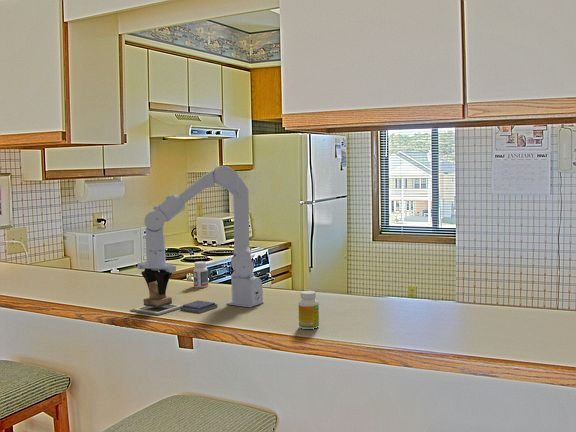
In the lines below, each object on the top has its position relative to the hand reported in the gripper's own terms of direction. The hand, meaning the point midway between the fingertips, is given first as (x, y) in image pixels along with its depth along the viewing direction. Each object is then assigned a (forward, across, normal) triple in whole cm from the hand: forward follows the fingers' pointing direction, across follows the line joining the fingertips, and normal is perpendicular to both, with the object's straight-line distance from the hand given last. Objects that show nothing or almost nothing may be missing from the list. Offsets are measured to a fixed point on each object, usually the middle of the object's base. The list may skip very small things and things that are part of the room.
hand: (157, 293), depth 195 cm
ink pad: (+5, +11, +6) cm, 14 cm away
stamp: (+3, 0, 0) cm, 3 cm away
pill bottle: (+5, -11, +32) cm, 35 cm away
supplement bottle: (+5, +52, +4) cm, 52 cm away
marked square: (+5, 0, 0) cm, 5 cm away
